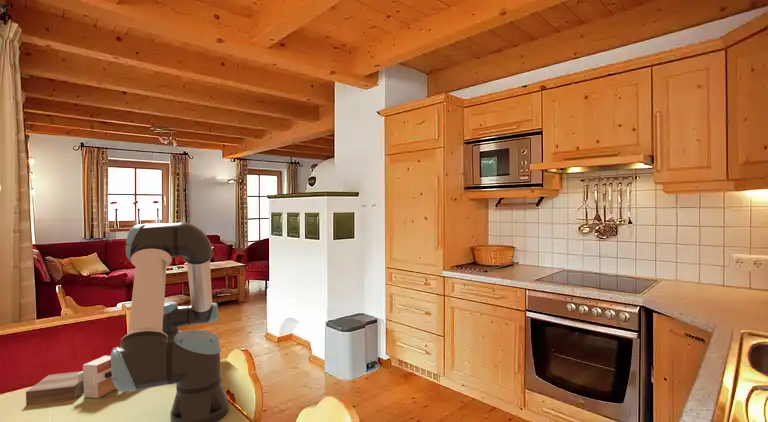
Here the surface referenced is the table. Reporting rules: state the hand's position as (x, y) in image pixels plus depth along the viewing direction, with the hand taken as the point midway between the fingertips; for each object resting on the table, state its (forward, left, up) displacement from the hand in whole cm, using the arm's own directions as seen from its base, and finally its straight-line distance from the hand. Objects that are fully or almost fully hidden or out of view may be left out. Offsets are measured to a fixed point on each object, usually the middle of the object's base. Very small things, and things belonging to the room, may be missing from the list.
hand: (85, 379), depth 127 cm
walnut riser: (+8, +10, -7) cm, 15 cm away
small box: (+4, -3, -7) cm, 8 cm away
